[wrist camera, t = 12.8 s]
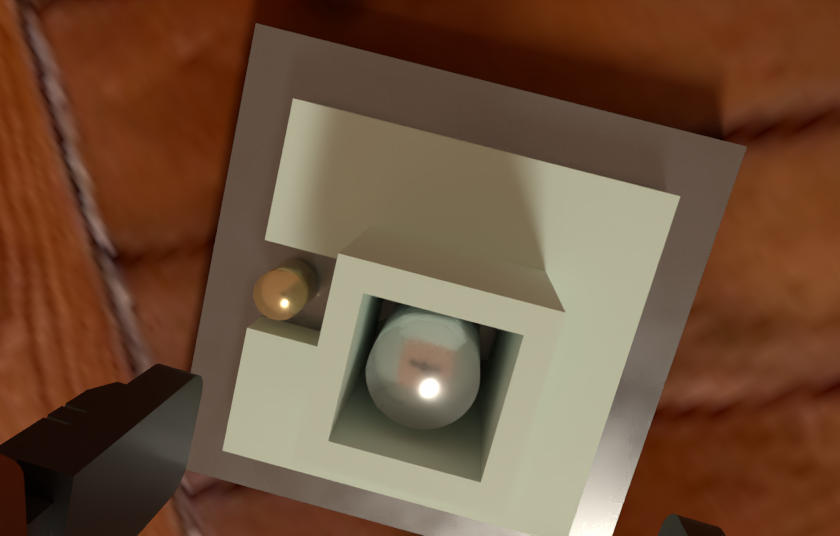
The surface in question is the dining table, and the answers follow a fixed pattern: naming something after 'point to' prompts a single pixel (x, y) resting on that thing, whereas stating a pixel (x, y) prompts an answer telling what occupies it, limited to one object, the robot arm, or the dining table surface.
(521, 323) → the flange plate
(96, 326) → the dining table surface
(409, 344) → the post fixture
